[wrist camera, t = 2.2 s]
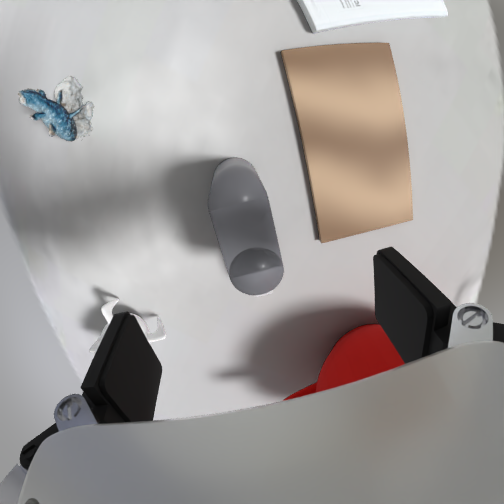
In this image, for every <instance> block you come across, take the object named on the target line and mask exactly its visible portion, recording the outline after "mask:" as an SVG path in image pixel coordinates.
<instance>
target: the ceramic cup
mask: <svg viewBox="0 0 504 504" xmlns="http://www.w3.org/2000/svg"><path fill="white" fill-rule="evenodd" d="M404 364H405V363H404V361H403V360H402V358H401V357H400V355H399V353H398V352H397V350H396V349H395V347H394V345H393V344H392V342H391V341H390V339H389V338H388V336H387V335H386V333H385V332H384V330H383V328H382V327H381V325H380V324H368V325H363V326H360V327H357V328H355V329H353V330H351V331H349V332H348V333H346V334H345V335H344V336H343V337H341V338H340V339H339V341H338V342H337V343H336V344H335V346H334V347H333V349H332V351H331V352H330V354H329V355H328V357H327V358H326V360H325V362H324V364H323V366H322V369H321V371H320V374H319V377H318V381H317V382H316V383H314V384H312V385H310V386H308V387H306V388H304V389H302V390H300V391H298V392H296V393H294V394H292V395H290V396H289V397H287V398H286V399H284V400H283V401H285V400H289V399H293V398H297V397H301V396H305V395H309V394H313V393H317V392H320V391H324V390H328V389H331V388H335V387H338V386H342V385H345V384H348V383H351V382H355V381H358V380H361V379H364V378H367V377H370V376H373V375H376V374H379V373H382V372H385V371H388V370H390V369H393V368H396V367H399V366H401V365H404Z"/></svg>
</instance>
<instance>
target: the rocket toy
mask: <svg viewBox="0 0 504 504" xmlns="http://www.w3.org/2000/svg"><path fill="white" fill-rule="evenodd" d="M118 301H119V299H115V300H113V301H111V302H109V303H107V304H105V305H103V306H102V308H101V311H102V313H103V315H104V317H105V319H106V320H107V322H108V323H107V324H106V326H105V327H104V329H103V331H102V333H101V336H100V337H99V338H98V340H97V341H96V342H95V343H94V344H93V345H92V347H91V348H90V350H89V352H90V353H95V352H96V351H97V349H98V347H99V345H100V343H101V341H102V339H103V336H104V334H105V332H106V330H107V328H108V326H109V324H110V322H111V320H112V318H113V315H112V309H113V307H114V306H115V304H116V303H117V302H118ZM130 314H131V315H134V316H135V317H136V319H137V321H138V323H139V325H140V327H141V329H142V331H143V333H144V334H145V336H146V338H147V340H148V342H149V344H150V345H151V342H154V341H158V340H162V339H164V338H165V337H166V332H165V329H164V326H163V323H162V321H161V319H160V318H159V317H158V326H157V330H156V331H155V332H154V333H150V331H149V328H148V326H147V324H146V323H145V321H144V320H143V319H142V318H141V317H139V316H138V315H136V314H133V313H130Z"/></svg>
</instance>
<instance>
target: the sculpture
mask: <svg viewBox="0 0 504 504" xmlns="http://www.w3.org/2000/svg"><path fill="white" fill-rule="evenodd" d="M82 88H83V86H82V85H81V84H79V82H78V80H77V79H76V78H74V77H72V76H68V77H67V78H65V79H64V80H63V81H62V82H61V83H60V84H58V85H57V87H56V89H55V92H54V93H55V94H54V95H55V99H56V102H54V101H52V100H49V99H47V98H46V94H45V92H44V91H42V90H38V89H37V91H35V90H33V89H29V88H28V89H25V90H24V91H23V90H22V91H19V93H18V95H19V96H20V97H19V102H20V104H22V105H25V106H27V107H30V108H31V109H33V110H35V111H36V114H32V115H31V116H30V118H32V119H33V120H40V119H42V120H43V122H44V124H45V125H46V126H47V127H48V128H49V133H50V134H49V136H51V137H53V136H54V135H55V134H57V135H58V136H59V137H60V138H62V139H65V140H67V141H74V140H75V139H78V138H79V137H82V136H84V137H85V136H87V135H89V134H90V132H91V131H92V130H93V127H92V126H91V125H92V124H91V119H92V117H93V108H94V104H93V103H92V102H89V101H88V102H87V103H86V104H85V105H83V102H82V101H83V100H82V99H83V96H82V94H81V90H82ZM82 139H83V138H82ZM81 141H82V140H81Z"/></svg>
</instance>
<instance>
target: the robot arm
mask: <svg viewBox="0 0 504 504" xmlns="http://www.w3.org/2000/svg"><path fill="white" fill-rule="evenodd" d="M373 262H374V286H375V315H376V319H377V321H378V322H379V324H380V325H381V327H382V328H383V330H384V332H385V333H386V335H387V336H388V338H389V339H390V341H391V342H392V344H393V345H394V347H395V349H396V350H397V352H398V353H399V355H400V357H401V358H402V360H403V361H404V363H405V364H404V365H401V366H399V367H396V368H393V369H390V370H388V371H385V372H382V373H379V374H376V375H373V376H370V377H367V378H364V379H361V380H358V381H355V382H351V383H348V384H345V385H342V386H338V387H335V388H331V389H328V390H324V391H320V392H317V393H313V394H309V395H305V396H301V397H297V398H293V399H289V400H285V401H280V402H276V403H271V404H266V405H261V406H256V407H251V408H246V409H240V410H235V411H229V412H222V413H216V414H209V415H202V416H194V417H186V418H177V419H167V420H155V421H153V417H154V411H155V406H156V400H157V395H158V390H159V385H160V379H161V374H162V366H161V363H160V361H159V360H158V358H157V356H156V354H155V353H154V351H153V349H152V347H151V345H150V344H149V342H148V340H147V338H146V336H145V334H144V333H143V331H142V329H141V327H140V325H139V323H138V321H137V319H136V317H135V316H134V315H131V314H130V313H129V312H124V313H119V314H115V315H114V316H113V318H112V320H111V322H110V324H109V326H108V328H107V330H106V332H105V334H104V336H103V339H102V341H101V343H100V345H99V347H98V349H97V351H96V354H95V356H94V358H93V360H92V363H91V365H90V367H89V369H88V372H87V374H86V376H85V379H84V381H83V383H82V386H81V389H82V390H83V391H84V392H83V394H82V395H79V394H72V395H69V396H67V397H65V398H63V399H62V400H61V401H60V402H59V403H58V404H57V406H56V408H55V411H54V418H55V421H56V423H55V424H53V425H52V426H51V427H49V428H48V429H47V430H45V431H44V432H42V433H41V434H40V435H38V436H37V437H36V438H34V439H33V440H31V441H30V442H28V443H27V444H26V445H25V446H24V447H23V449H22V451H21V454H20V463H21V465H20V466H19V465H18V464H16V466H15V467H14V468H13V469H12V470H11V471H10V472H9V474H8V475H7V476H6V477H5V478H4V480H3V481H2V482H1V483H0V504H504V324H499V323H493V318H492V314H491V313H490V311H489V310H488V309H486V308H485V307H484V306H482V305H479V304H475V303H466V304H462V305H460V306H458V307H456V306H455V305H454V304H453V303H452V302H451V301H450V300H449V299H448V298H447V297H446V296H445V295H444V294H443V293H442V292H441V291H440V290H439V289H438V288H437V287H436V286H435V285H434V284H433V283H431V282H430V281H429V280H428V279H427V278H426V277H425V276H424V275H423V274H422V273H421V272H420V271H419V270H418V269H416V268H415V267H414V266H413V265H412V264H411V263H410V262H409V261H408V260H407V259H405V258H404V257H403V256H402V255H401V254H400V253H399V252H398V251H396V250H395V249H394V248H393V247H388V248H385V249H381V250H378V251H377V255H374V257H373Z"/></svg>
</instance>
